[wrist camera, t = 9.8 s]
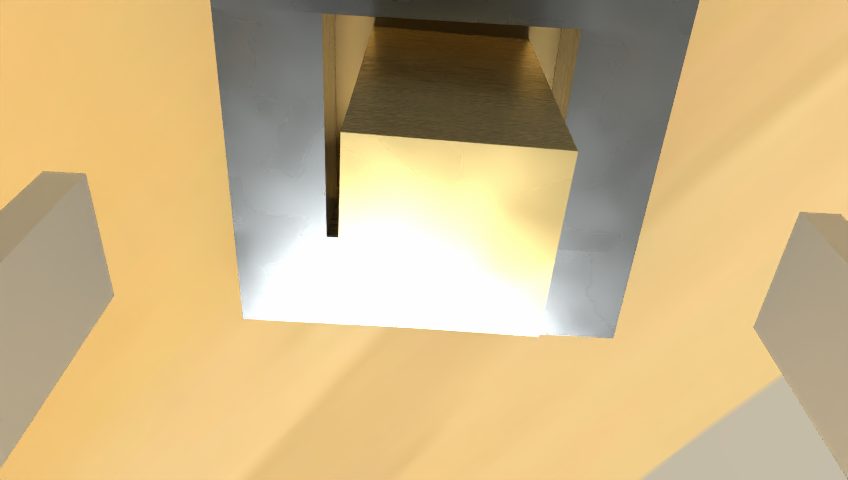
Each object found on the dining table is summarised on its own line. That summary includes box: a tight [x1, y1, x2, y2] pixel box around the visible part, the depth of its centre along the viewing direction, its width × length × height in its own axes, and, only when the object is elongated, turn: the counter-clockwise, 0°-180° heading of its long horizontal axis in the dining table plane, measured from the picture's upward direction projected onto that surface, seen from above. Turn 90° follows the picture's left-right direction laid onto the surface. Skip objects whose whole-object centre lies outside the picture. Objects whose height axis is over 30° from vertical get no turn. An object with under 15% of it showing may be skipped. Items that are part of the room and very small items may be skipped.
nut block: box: [337, 26, 578, 337], centre depth 17 cm, size 4×4×8 cm
